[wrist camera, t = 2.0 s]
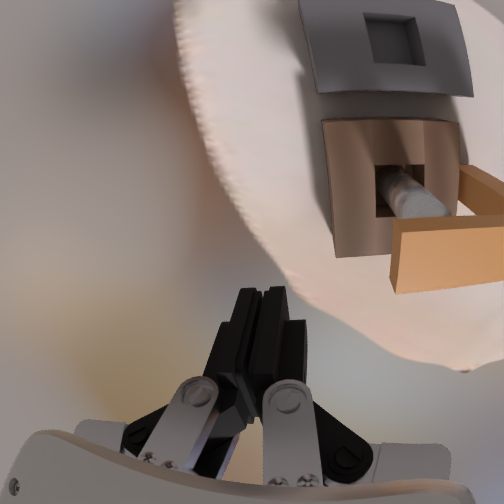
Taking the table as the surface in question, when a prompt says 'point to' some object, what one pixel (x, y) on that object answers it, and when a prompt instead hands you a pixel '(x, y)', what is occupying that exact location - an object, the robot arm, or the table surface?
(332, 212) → the socket block
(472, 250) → the orange angle bracket
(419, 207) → the grey metal rod
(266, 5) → the table surface
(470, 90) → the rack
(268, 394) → the robot arm
